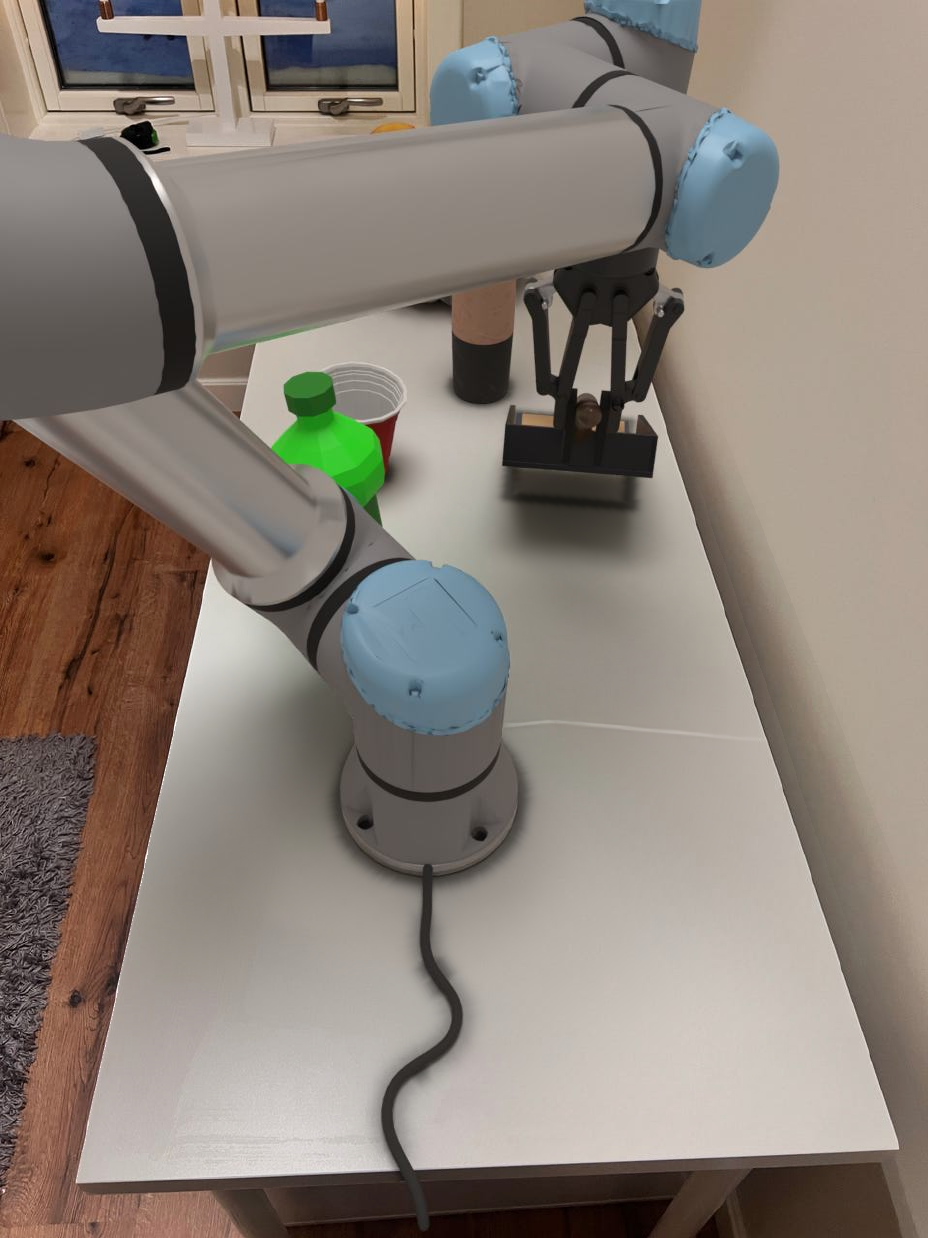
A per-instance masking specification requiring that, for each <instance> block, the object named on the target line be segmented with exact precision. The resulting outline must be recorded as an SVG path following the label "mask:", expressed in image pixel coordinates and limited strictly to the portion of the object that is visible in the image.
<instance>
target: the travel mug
mask: <svg viewBox="0 0 928 1238" xmlns="http://www.w3.org/2000/svg"><path fill="white" fill-rule="evenodd" d="M516 297H517V279H514V280H510V281H506V282H502V283H498V284H494V285H490V286H486V287H482V288H478V289H474V290H470V291H466V292H462V293H458V294H454V295H452V305H451V355H452V356H451V358H452V361H451V362H452V386H453V387H452V388H453V391H454V393H455V395H457V396H458V397H459V398H460V399H462V400H464V401H466V402H468V403H472V404H491V403H494V402H497V401H499V400H501V399H502V398H504V397H505V395H506V394H507V392H508V389H509V381H510V372H511V364H512V363H511V362H512V352H513V341H514V330H515V315H516Z"/></svg>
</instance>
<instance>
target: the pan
mask: <svg viewBox="0 0 928 1238" xmlns="http://www.w3.org/2000/svg"><path fill="white" fill-rule="evenodd" d="M599 404H600V403H599V402H598V400H597V398H596V396H594V395H593V394H592V393H589V392H583V393H581V394H579V395H577V410H576V417H575V425H574V433H573V440H572V448H571V456H570V464H562V463H561V462H562V444H563V436H564V430H559V429H554V427H547V426H534V425H521V424H516V423H515V421H516V417H515V416H516V407H517V406H516V405H515V404H510V405H509V408H508V413H507V416H506V421H505V423H504V435H503V436H504V437H503V449H502V459H501V460H502V461H501V466H502V467H505V468H519V469H530V470H542V471H543V470H544V471H554V472H555V471H556V472H568V473H581V474H595V475H605V476H606V475H607V476H618V477H631V478H643V479H653V477H654V470H655V463H656V456H657V448H658V443H659V442H658V440H659V435H658V433H657V432H656V431H655V430H654V428H653V426H651V424H650V422H649V421H648V420H647V418H646V417H645V416H644V414H637V420H636V428H635V432H629V433H624V432H617V433H616V434H615V433H606V437H605V443H604V449H603V456H602V462H601V467H600V466H593V445H594V438H595V431H596V430H592V428H593V427H595V426H596V425H598V424H599V422H600V421H601V418H602V412H601V409H600V406H599Z"/></svg>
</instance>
